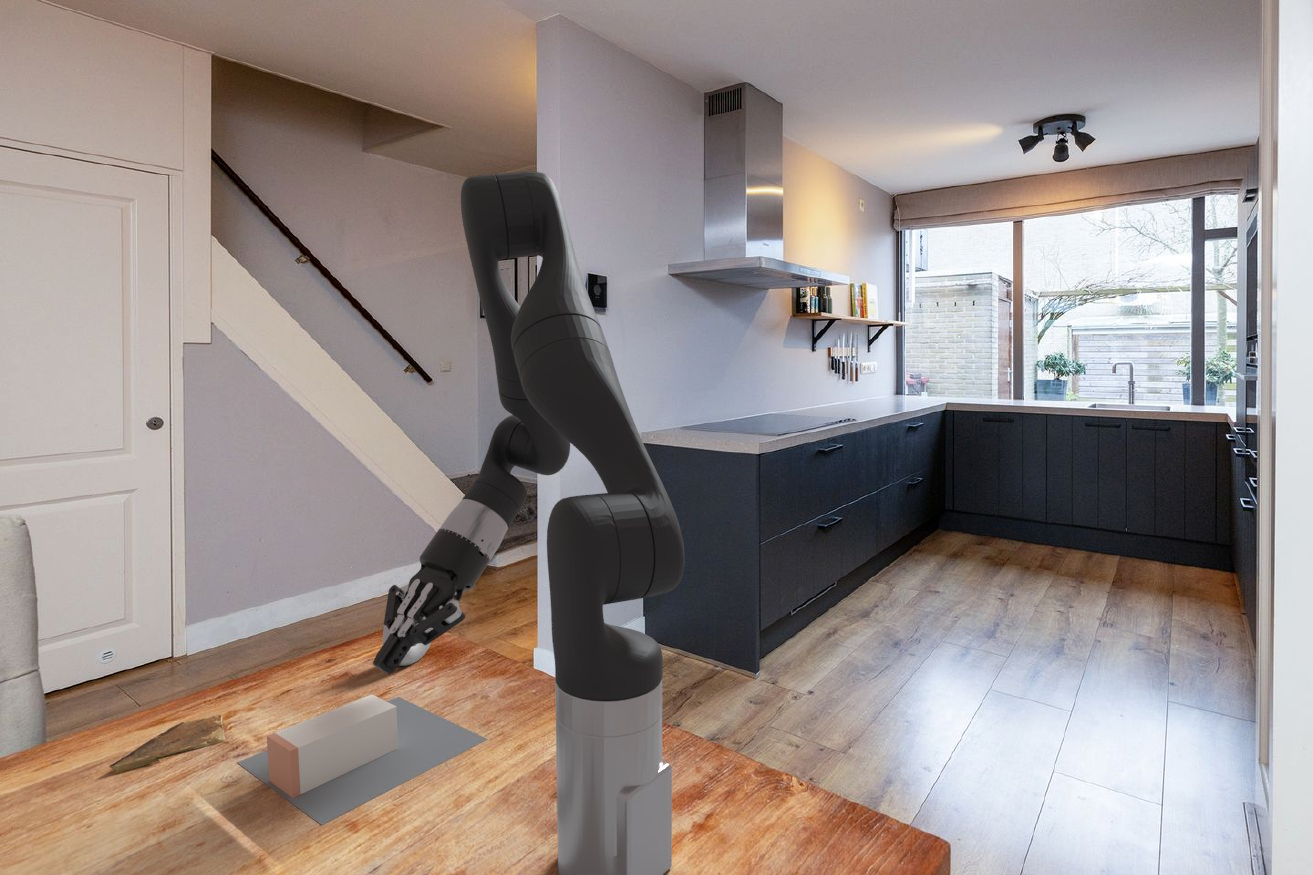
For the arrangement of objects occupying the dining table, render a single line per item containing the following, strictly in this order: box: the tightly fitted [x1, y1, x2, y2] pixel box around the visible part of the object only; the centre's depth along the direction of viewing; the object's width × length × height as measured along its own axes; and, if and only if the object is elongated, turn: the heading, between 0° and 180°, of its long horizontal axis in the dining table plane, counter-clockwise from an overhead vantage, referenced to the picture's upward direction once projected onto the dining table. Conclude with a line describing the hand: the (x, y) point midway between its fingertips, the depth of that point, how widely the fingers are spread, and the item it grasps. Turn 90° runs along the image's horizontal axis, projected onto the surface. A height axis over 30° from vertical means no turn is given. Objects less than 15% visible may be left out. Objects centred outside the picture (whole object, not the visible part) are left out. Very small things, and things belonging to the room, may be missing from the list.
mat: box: [236, 696, 489, 826], centre depth 83 cm, size 18×20×1 cm
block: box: [266, 694, 398, 798], centre depth 79 cm, size 5×5×12 cm
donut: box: [382, 617, 432, 667], centre depth 107 cm, size 10×4×10 cm, turn 162°
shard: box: [108, 714, 226, 774], centre depth 85 cm, size 11×8×2 cm
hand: (381, 669), depth 83 cm, fingers closed
